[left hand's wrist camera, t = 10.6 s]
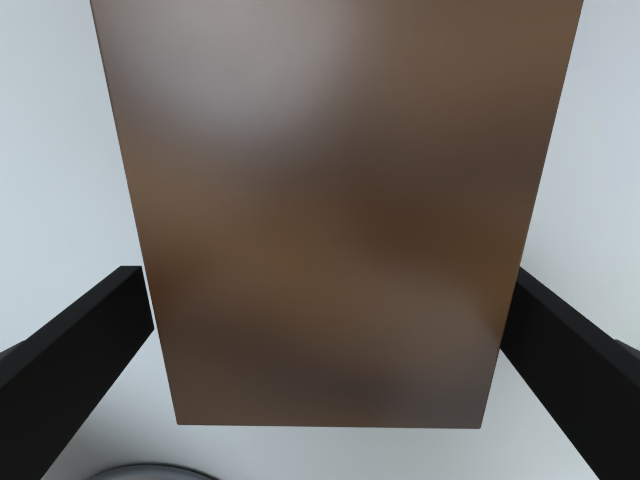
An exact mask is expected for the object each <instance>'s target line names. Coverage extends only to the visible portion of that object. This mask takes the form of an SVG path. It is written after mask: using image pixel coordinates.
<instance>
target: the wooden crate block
mask: <svg viewBox="0 0 640 480" xmlns="http://www.w3.org/2000/svg"><path fill="white" fill-rule="evenodd" d="M583 1H584V0H90V5H91V10H92V14H93V19H94V24H95V29H96V34H97V39H98V43H99V48H100V53H101V58H102V63H103V68H104V72H105V77H106V82H107V87H108V92H109V97H110V101H111V106H112V111H113V116H114V121H115V126H116V131H117V135H118V140H119V145H120V150H121V155H122V160H123V164H124V169H125V174H126V179H127V184H128V189H129V193H130V198H131V203H132V208H133V213H134V218H135V222H136V227H137V232H138V237H139V242H140V247H141V251H142V256H143V261H144V266H145V271H146V276H147V280H148V285H149V290H150V295H151V300H152V305H153V309H154V314H155V319H156V324H157V329H158V334H159V338H160V343H161V348H162V353H163V358H164V363H165V368H166V372H167V377H168V382H169V387H170V392H171V397H172V401H173V406H174V411H175V416H176V421H177V424H178V425H231V426H304V427H376V428H449V429H480V428H481V424H482V420H483V416H484V412H485V408H486V403H487V399H488V395H489V391H490V387H491V383H492V379H493V374H494V370H495V366H496V362H497V358H498V354H499V349H500V345H501V341H502V337H503V333H504V329H505V325H506V320H507V316H508V312H509V308H510V304H511V300H512V295H513V291H514V287H515V283H516V279H517V275H518V271H519V266H520V262H521V258H522V254H523V250H524V246H525V241H526V237H527V233H528V229H529V225H530V221H531V217H532V212H533V208H534V204H535V200H536V196H537V192H538V187H539V183H540V179H541V175H542V171H543V167H544V163H545V158H546V154H547V150H548V146H549V142H550V138H551V134H552V129H553V125H554V121H555V117H556V113H557V109H558V104H559V100H560V96H561V92H562V88H563V84H564V80H565V75H566V71H567V67H568V63H569V59H570V55H571V50H572V46H573V42H574V38H575V34H576V30H577V26H578V21H579V17H580V13H581V9H582V5H583Z"/></svg>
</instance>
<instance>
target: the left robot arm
mask: <svg viewBox="0 0 640 480" xmlns="http://www.w3.org/2000/svg"><path fill="white" fill-rule="evenodd" d="M153 330H154V324H153V319H152V314H151V310H150V305H149V300H148V295H147V290H146V286H145V281H144V276H143V271H142V266H120V267H119V268H117V269H116V270H115V271H113V272H112V273H111V274H110V275H108V276H107V277H106V278H104V279H103V280H102V281H101V282H99V283H98V284H97V285H96V286H94V287H93V288H92V289H90V290H89V291H88V292H87V293H85V294H84V295H83V296H81V297H80V298H79V299H78V300H76V301H75V302H74V303H72V304H71V305H70V306H69V307H67V308H66V309H65V310H63V311H62V312H61V313H60V314H58V315H57V316H56V317H54V318H53V319H52V320H51V321H49V322H48V323H47V324H46V325H44V326H43V327H42V328H40V329H39V330H38V331H37V332H35V333H34V334H33V335H31V336H30V337H29V338H28V339H26V340H25V341H22V342H20V343H18V344H16V345H14V346H12V347H10V348H9V349H7V350H5V351H3V352H1V353H0V480H41V478H42V477H43V476H44V474H45V473H46V472H47V470H48V469H49V468H50V466H51V465H52V464H53V462H54V461H55V460H56V458H57V457H58V456H59V454H60V453H61V452H62V451H63V449H64V448H65V447H66V445H67V444H68V443H69V441H70V440H71V439H72V437H73V436H74V435H75V433H76V432H77V431H78V429H79V428H80V427H81V425H82V424H83V423H84V421H85V420H86V419H87V418H88V416H89V415H90V414H91V412H92V411H93V410H94V408H95V407H96V406H97V404H98V403H99V402H100V400H101V399H102V398H103V396H104V395H105V394H106V392H107V391H108V390H109V388H110V387H111V386H112V384H113V383H114V382H115V381H116V379H117V378H118V377H119V375H120V374H121V373H122V371H123V370H124V369H125V367H126V366H127V365H128V363H129V362H130V361H131V359H132V358H133V357H134V355H135V354H136V353H137V351H138V350H139V349H140V347H141V346H142V345H143V344H144V342H145V341H146V340H147V338H148V337H149V336H150V334H151V333H152V332H153ZM500 349H501V350H502V351H503V353H504V354H505V355H506V357H507V358H508V359H509V361H510V362H511V363H512V365H513V366H514V367H515V369H516V370H517V371H518V373H519V374H520V375H521V377H522V378H523V379H524V381H525V382H526V383H527V384H528V386H529V387H530V388H531V390H532V391H533V392H534V394H535V395H536V396H537V398H538V399H539V400H540V402H541V403H542V404H543V406H544V407H545V408H546V410H547V411H548V412H549V414H550V415H551V416H552V418H553V419H554V420H555V421H556V423H557V424H558V425H559V427H560V428H561V429H562V431H563V432H564V433H565V435H566V436H567V437H568V439H569V440H570V441H571V443H572V444H573V445H574V447H575V448H576V449H577V451H578V452H579V453H580V455H581V456H582V457H583V458H584V460H585V461H586V462H587V464H588V465H589V466H590V468H591V469H592V470H593V472H594V473H595V474H596V476H597V477H598V478H599V480H640V351H638V350H636V349H634V348H632V347H630V346H629V345H627V344H625V343H623V342H621V341H619V340H614V339H612V338H611V337H610V336H609V335H607V334H606V333H605V332H603V331H602V330H601V329H600V328H598V327H597V326H596V325H594V324H593V323H592V322H591V321H589V320H588V319H587V318H586V317H584V316H583V315H582V314H580V313H579V312H578V311H577V310H575V309H574V308H573V307H571V306H570V305H569V304H568V303H566V302H565V301H564V300H562V299H561V298H560V297H559V296H557V295H556V294H555V293H553V292H552V291H551V290H550V289H548V288H547V287H546V286H544V285H543V284H542V283H541V282H539V281H538V280H537V279H536V278H534V277H533V276H532V275H530V274H529V273H528V272H527V271H525V270H524V269H523V268H521V267H520V266H519V271H518V275H517V279H516V283H515V287H514V291H513V295H512V300H511V304H510V308H509V312H508V316H507V320H506V325H505V329H504V333H503V337H502V341H501V345H500ZM89 480H212V479H210V478H208V477H205V476H203V475H200V474H197V473H194V472H191V471H188V470H184V469H179V468H175V467H168V466H160V465H133V466H125V467H120V468H115V469H111V470H108V471H105V472H103V473H100V474H98V475H96V476H94V477H92V478H91V479H89Z"/></svg>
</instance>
